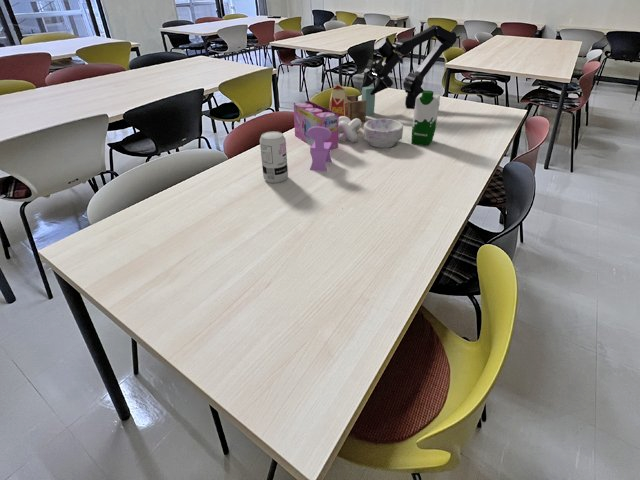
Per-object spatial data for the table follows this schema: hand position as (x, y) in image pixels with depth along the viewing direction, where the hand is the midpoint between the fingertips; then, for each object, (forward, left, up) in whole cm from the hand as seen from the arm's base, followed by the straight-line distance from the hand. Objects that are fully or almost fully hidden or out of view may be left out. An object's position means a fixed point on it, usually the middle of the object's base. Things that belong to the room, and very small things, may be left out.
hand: (366, 92), depth 183 cm
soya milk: (-24, +36, -10) cm, 45 cm away
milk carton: (+11, +22, -10) cm, 27 cm away
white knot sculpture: (+7, +36, -10) cm, 38 cm away
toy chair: (+14, +62, -10) cm, 65 cm away
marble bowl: (-8, +39, -10) cm, 41 cm away
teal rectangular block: (-1, -1, -10) cm, 10 cm away
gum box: (+19, +39, -10) cm, 45 cm away
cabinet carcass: (+6, +9, -10) cm, 15 cm away
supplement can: (+28, +74, -10) cm, 80 cm away
